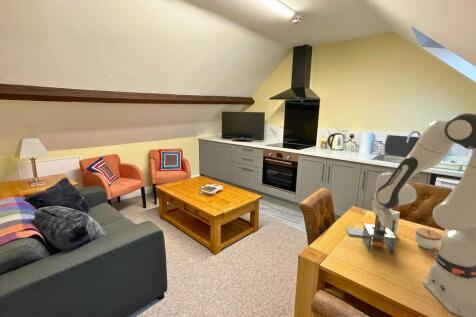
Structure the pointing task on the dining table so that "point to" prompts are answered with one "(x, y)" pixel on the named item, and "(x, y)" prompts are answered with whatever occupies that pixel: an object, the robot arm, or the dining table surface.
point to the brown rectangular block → (378, 230)
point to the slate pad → (354, 232)
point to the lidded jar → (427, 238)
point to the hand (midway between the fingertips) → (379, 227)
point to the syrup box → (395, 221)
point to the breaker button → (377, 243)
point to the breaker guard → (370, 233)
